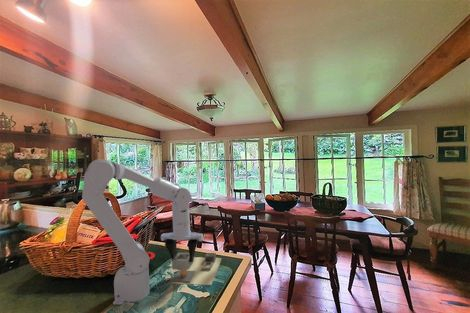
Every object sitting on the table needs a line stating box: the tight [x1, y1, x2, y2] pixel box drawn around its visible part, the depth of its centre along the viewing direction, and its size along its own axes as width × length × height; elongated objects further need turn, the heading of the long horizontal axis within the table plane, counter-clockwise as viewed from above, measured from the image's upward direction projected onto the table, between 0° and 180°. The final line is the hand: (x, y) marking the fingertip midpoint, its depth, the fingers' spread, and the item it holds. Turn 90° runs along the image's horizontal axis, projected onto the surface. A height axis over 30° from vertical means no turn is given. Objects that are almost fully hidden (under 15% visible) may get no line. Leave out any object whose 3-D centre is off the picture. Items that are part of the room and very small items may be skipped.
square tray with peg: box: [170, 269, 196, 283], centre depth 76 cm, size 6×6×5 cm
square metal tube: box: [171, 252, 194, 270], centre depth 76 cm, size 6×6×3 cm
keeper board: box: [170, 252, 223, 286], centre depth 81 cm, size 14×18×3 cm
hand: (183, 260), depth 76 cm, fingers closed on square metal tube, 6 cm apart
